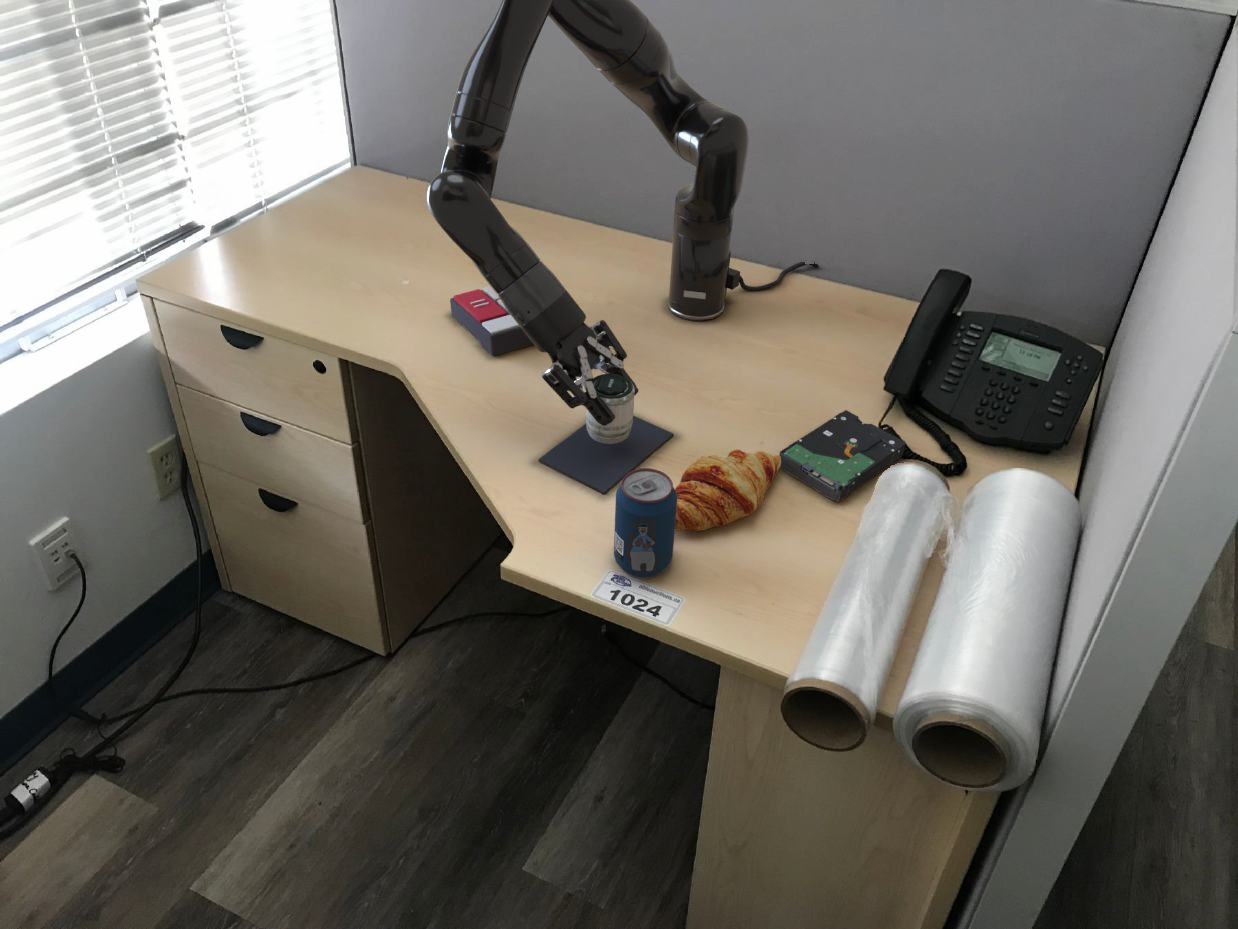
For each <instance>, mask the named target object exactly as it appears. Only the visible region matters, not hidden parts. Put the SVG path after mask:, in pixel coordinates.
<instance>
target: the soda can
mask: <svg viewBox="0 0 1238 929" xmlns="http://www.w3.org/2000/svg"><path fill="white" fill-rule="evenodd" d="M676 508H677V493H676V491H675V487H674V484H673V481H672V479H671V477H670V476H669V475H668V474H666V473H665V472H663V471H661V470H658V469H655V468H648V467H643V468H635V469H634V470H633V471H631V472H629V473H628V474H627V475H625V477H624V478H623V479H622V480H621V483H620V485H619V486H618V488H617V489H616V492H615V510H614V534H613V535H614V539H613V557H614V560H615V562H616V564H617V565H618V566H619V568H620V569H621V570H622V571H623V572H624V573H625V574H627V575H629V576H630V577H633V578H637V579H651V578H655V577H657V576H659V575H660V574H661V573H662V572H664V571H665V570H666V569H667V568H668V567H669V565H671V562H672V561H673V556H674V546H675V545H674V544H675V533H676V532H675V531H676V530H675V520H676Z"/></svg>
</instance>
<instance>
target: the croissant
mask: <svg viewBox="0 0 1238 929" xmlns="http://www.w3.org/2000/svg"><path fill="white" fill-rule="evenodd" d="M780 466H781V457H780V456H779V454H775V455H773V454H770V453H768V452H765V451H761V450H760V451H759V450H758V451H756V452H755V453H751V452H750V453H748V452H746V451H742V450H740V449H734V450H730V452H729V453H728V455H727V456H726V457H723V456H719V455H707V456H701V457H700V458H699V459H696V460H695V461H694V462H693V463H692V464H691V465H689V466H688V467H687V468H686V469H685V471H684V472H683V473H682V476H681V479H680V481H679V484H677V486H676V487H674V489H675V491H676V493H677V508H676V520H675V531H676V530H689V531H697V532H701V531H706V530H707V529H710V528H714V527H724V526H726V525H728V524H731V523H733V522H735V521H736V520H738V519H742V518H745V517H747V516H748V515H751V514H753V513H755V511H757V509H758V507H759V506H760V505H761V504H762V502H763V501H764V500H765V493H766V491H767V490H768V489H769V488H770V486H771V485H772V483H773V479H774V478H775V476H777V473H778V471H779V470H780V468H781V467H780Z"/></svg>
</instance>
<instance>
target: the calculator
mask: <svg viewBox="0 0 1238 929" xmlns="http://www.w3.org/2000/svg"><path fill="white" fill-rule="evenodd" d="M449 303H450V304H449V305H450V311H451V316H452V317H453V318H454V319H455V320H456V321H457V322H458V323H459V324H461V325H462V327H464V328H465V329H466V330H467V331H468V332H469V333H470V334H471V335H473V337H475V338H476V339H477V340H478V341H479V344H480V346H481V347H482V348H483V349H484V350H485V351H486V352H487V353H489V354H490V355H491V356H493V357H495V356H500V355H502V354H506V353H509V352H512V351H515V350H519V349H523V348H526V347H529V346H533V345H534V344H533V342H532V341H531V340H530V339H529V337H528V336H527V335H526V334H525V332H524V331H523V330H522V329H521V327H520V326H519V325H518V324H517V322H516V321H515V320H514V318H513V317H512V316H511V315H510V313H509V312H508V311H507V309H506V308H505V306H504V304H503V303H502V301H501V299H500V298H499V296H498V294H496V292H495V291H494V290H493V289H492V287H491V286H490V285H488V286H485V287H482V289H480V288H479V289H473V290H470V291H466V292H462V293H458V294H454V295H453V297H451V298H450V299H449Z"/></svg>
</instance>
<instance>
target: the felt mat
mask: <svg viewBox="0 0 1238 929" xmlns="http://www.w3.org/2000/svg"><path fill="white" fill-rule="evenodd" d="M674 435H675V433H673V432H671V431H669V430H667V429H665V428H662V427H661V426H659V425H656V424H653V423H652V422H649V421H647V420H644V419H643V418H641V417H638V416H635V415H633V423H632V428H631V431H630V434H629V436H628V437H627V438H626V439H625V440H624V441H622V442H619V443H614V444H606V443H600V442H598V441H596V440H594V439H592V437H590V435H589V433H588V431H587V427H586V423H584V424H583V425H581V426H580V427H579V428H578V429H576V430H575V431H574V432H573V433H571V434H569V435H568V436H567V437H566V438H565V439H563V440H562V441H561V442H560V443H558V444H557V445H555V446H554V447H553V448H551V449H550V450H549V451H547V452H546V453H545V454H543V455H542V456H540V457H539V458H538V460H537V461H538V463H540V464H542V465H544V466H546V467H548V468H550V469H552V470H555V471H557V472H558V473H561V474H563V475H564V476H567V477H569V478H570V479H572V480H574V481H576V482H578V483H580V484H582V485H584V486H586V487H589V488H590V489H591V490H594V491H595V492H598V493H600V494H602V495H606V494H607V493H608V492H609V491H610V490H612V489H613V488H614V487H615V486H616V485H617V484H619V482H622V480H623V478H624V477H625V475H627V474H628V473H629V472H631V471H633V470H636V469H637V468H638V467H639V466H640V465H641V464H643V462H645V461H646V460H647V459H649V457H650V456H652V455H653V454H654V453H655V452H657V450H659V449H660V448H661V447H662V446H663V445H665V444H666V443H667V442H668V441H669V440H670V439H672V438H673V437H674Z"/></svg>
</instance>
